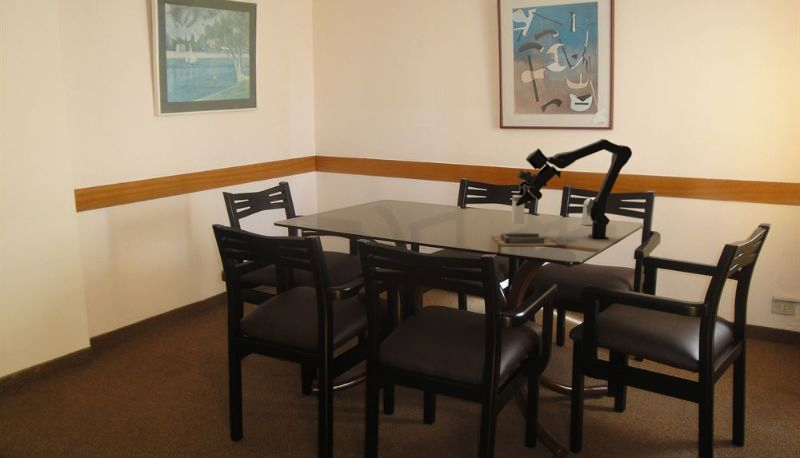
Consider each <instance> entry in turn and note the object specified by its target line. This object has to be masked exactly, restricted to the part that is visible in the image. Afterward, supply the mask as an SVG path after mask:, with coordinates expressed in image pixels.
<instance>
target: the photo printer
mask: <svg viewBox="0 0 800 458" xmlns="http://www.w3.org/2000/svg"><path fill="white" fill-rule="evenodd" d="M595 198H596V196H595V197H589V198H587V199H585V200H584V202H583V206H582V219H581V223H582V225H584V226H592V222H593V221H591V217H589V216H588V214H587V208H586V207H587V206H588V204H589V200H590V199H592V200H594V199H595Z"/></svg>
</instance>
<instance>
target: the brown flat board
mask: <svg viewBox="0 0 800 458" xmlns="http://www.w3.org/2000/svg"><path fill="white" fill-rule="evenodd" d="M539 235H540V234H539V233H500V236H492V238H491V239H493V240H494V241H495V242H496V243H497V244H498V245H499V246H500V247H557V244H556V243H554V242H553V241H552V240H550V239H549V238H548V237H546V236H539Z"/></svg>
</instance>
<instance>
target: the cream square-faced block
mask: <svg viewBox="0 0 800 458" xmlns="http://www.w3.org/2000/svg"><path fill="white" fill-rule="evenodd" d="M511 196H512V202H511V222H512V223H513V224H515V225H517V224H518V225H519V224H522V225H523V224H525V222H524V221H525V204H526V203H525V204H522V205H519V206H517V205H516V203H517V202H518V200H519V199H520V198H521V197H522V195H518V194H516V195H514V194H513V195H511Z"/></svg>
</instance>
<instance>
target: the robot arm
mask: <svg viewBox="0 0 800 458" xmlns="http://www.w3.org/2000/svg"><path fill="white" fill-rule="evenodd" d="M604 150H605V151H607V152H608V153H611V159H610V161H611V162H610V167H609V169H608V171H607V173H606V175H605V178H604V179H603V182H602V183H601V186H600V188H599V191H598V193H597V195H596V196H595V197H596V198H595V199H594V200H592V199H590V200H589V204H588V206H587V207H586V208H587V214H588V216H589V217H591V221H593V222H592V225H591V234H588V236H589V238H592V239H596V240H597V239H601V240H602V239H609V236H607V226H608V225H609V223H610V219H609V218H608V217H607V215H606V210H607V205H608V203H607V202H608V198H609V196H610V194H611V192H612V190H613V188H614V185H615V183H616V182H617V179H618V177H619V175H620V173H621V170H622V169H623V168H624V167H625V165H626V164H627V163H628V162H629V160H630V159H631V157H632V155H633V151H632V149H631V148H630V146H627V145H622V144H619V145H618V144H616V143H614V142H612V141H609V140H608V139H605V138H601V139H599V140H597V141H595V142H592V143H590V144H587V145H583V146H582V147H579V148H576V149H574V150H571V151H564V152H559V153H556V154H554V155H553V156H546V155H545V154H544V152H543V151H542V150H541V149H540V148H537V149H536V150H534V151H533V152H531V153H529V154H528V156H527V157H526V158H525V161H526V162H527V163H528V164H529V165H530V166H531V167H532V168H533V169H534V170H538V171H537V173H533V174H532V172H531V171H529V170H527V171H523V170H519V171H518V173H517V176H516V177H517V178H518V179H519V180H520V181H519V182H518V183H517V185H518V187H519V188H518V189H519V190H518V193H517V195H522V197H521V198H520V199H519V200H518V202H517V203H516V205H517V206H519V205H522V204H527V203H530V202H532V201H536V200H538V201H539V200H541V199H542V197H543V193H542V192H541V189H543V188H545V187H547V185H548V183H549V182H550V181H551V180H552V179H553V178H554V177H555V176H556V177H557V178H559V179H561V177H562V176H561V173H562V171H561V170H563V169H566V168H567V167H569V166H570V165H572V164H574V163H575V162H576V161H578V160H581V159H583V158H586V157H588V156H590V155H593V154H595V153H598V152H601V151H604ZM550 165H551V166H550ZM557 168H558V169H560V170H558V169H557Z"/></svg>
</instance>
